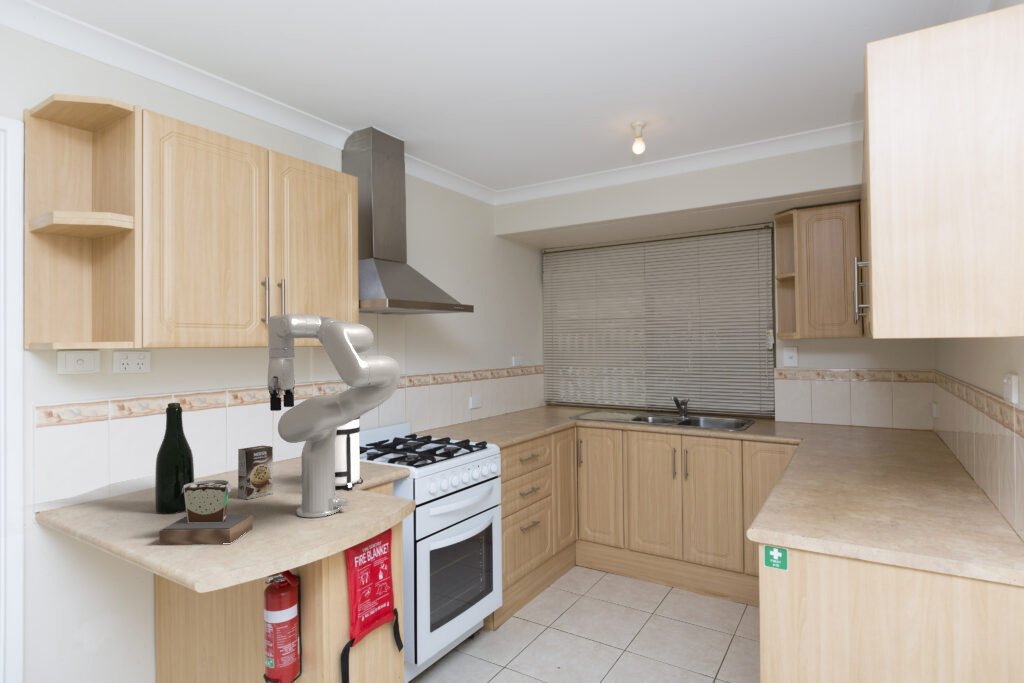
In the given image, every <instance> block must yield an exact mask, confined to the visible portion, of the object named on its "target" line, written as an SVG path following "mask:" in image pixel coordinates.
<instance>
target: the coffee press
mask: <svg viewBox="0 0 1024 683" xmlns="http://www.w3.org/2000/svg"><path fill="white" fill-rule="evenodd" d="M360 418H361V416H360V417H358V418H356V419H354V420H352V421H351V422H349V423H347V424H345V425H343V426H340V427H337V432H336V438H335V487H342V486H343V487H346V490H347V491H352V490H353V484H356V483H358V484H363V483H364V479H363V478H362V477H361V473H360V472H361V471H360V470H361V468H360V467H361V465H360V464H361V462H360V459H361V458H360V457H361V456H360V455H361V454H360V450H361V449H360V431H361V426H360ZM359 480H361V481H360V482H359Z"/></svg>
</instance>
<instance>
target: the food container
mask: <svg viewBox="0 0 1024 683" xmlns="http://www.w3.org/2000/svg"><path fill="white" fill-rule="evenodd" d="M231 491H232V487H231V483H230V482H229V481H228V480H224V479H209V480H208V479H207V480H199V481H194V482H193V483H189V484H186V485H184V486H183V488H182V493H184V497H185V505H186V511H185V513H186V516H187V522H188V524H190V523H224V522H225V521H226V515H227V512H228V500H229V493H230V492H231Z"/></svg>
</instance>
